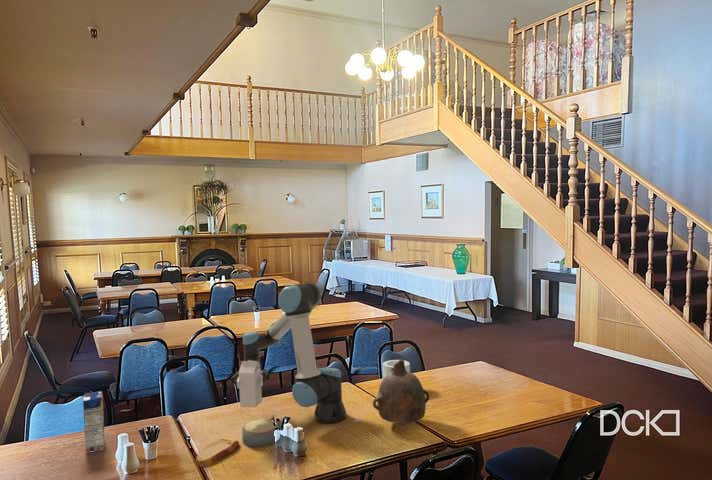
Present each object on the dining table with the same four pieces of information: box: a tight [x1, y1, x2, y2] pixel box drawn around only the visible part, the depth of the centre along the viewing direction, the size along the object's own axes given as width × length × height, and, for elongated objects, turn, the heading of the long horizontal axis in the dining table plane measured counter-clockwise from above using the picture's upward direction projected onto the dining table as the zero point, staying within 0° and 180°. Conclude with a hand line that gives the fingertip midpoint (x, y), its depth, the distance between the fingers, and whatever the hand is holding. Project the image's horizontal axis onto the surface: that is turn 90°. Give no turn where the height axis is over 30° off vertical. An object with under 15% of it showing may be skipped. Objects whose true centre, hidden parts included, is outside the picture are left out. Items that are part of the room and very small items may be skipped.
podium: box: [241, 418, 281, 448], centre depth 210 cm, size 16×16×6 cm
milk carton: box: [238, 360, 263, 408], centre depth 213 cm, size 7×7×19 cm
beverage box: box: [82, 390, 106, 453], centre depth 208 cm, size 7×11×22 cm, turn 27°
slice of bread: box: [195, 438, 240, 468], centre depth 197 cm, size 18×18×4 cm
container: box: [382, 359, 411, 380], centre depth 266 cm, size 16×16×15 cm
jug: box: [372, 359, 430, 426], centre depth 218 cm, size 24×21×30 cm
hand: (249, 383), depth 208 cm, fingers closed on milk carton, 9 cm apart
